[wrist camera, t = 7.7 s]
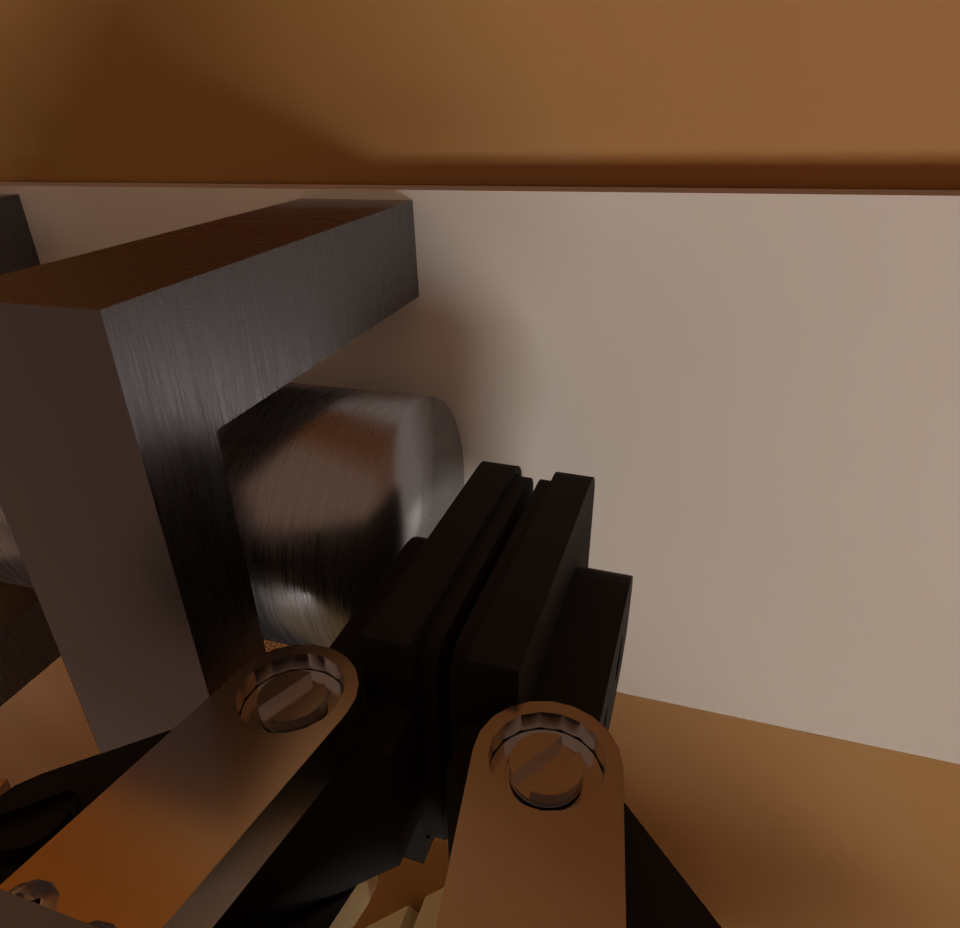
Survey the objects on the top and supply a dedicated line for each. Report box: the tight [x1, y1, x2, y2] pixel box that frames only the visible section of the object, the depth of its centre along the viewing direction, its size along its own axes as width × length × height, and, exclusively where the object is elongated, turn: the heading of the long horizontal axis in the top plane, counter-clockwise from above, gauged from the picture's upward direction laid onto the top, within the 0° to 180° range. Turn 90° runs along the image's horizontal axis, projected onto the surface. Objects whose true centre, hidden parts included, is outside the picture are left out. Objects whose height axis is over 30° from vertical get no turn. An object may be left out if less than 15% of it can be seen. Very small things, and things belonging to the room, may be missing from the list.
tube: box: [0, 382, 464, 648], centre depth 12 cm, size 10×4×4 cm, turn 93°
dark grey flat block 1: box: [0, 199, 419, 754], centre depth 11 cm, size 2×9×6 cm, turn 3°
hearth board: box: [0, 182, 960, 764], centre depth 13 cm, size 20×10×1 cm, turn 93°
